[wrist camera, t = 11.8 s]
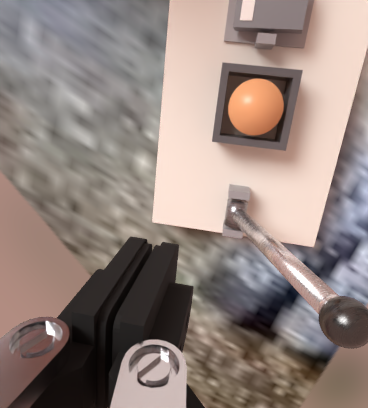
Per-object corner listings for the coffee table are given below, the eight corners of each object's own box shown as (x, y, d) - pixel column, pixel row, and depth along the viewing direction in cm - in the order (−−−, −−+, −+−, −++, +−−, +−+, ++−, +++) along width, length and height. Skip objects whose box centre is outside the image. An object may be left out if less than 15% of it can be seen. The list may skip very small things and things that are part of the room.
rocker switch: (313, -25, 19) (314, -32, 18) (301, 33, 20) (302, 29, 19) (242, -24, 20) (240, -31, 19) (235, 30, 21) (232, 26, 20)
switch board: (373, -34, 22) (418, -79, 16) (305, 233, 28) (322, 261, 23) (181, -46, 23) (168, -90, 18) (159, 211, 30) (144, 233, 24)
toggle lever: (245, 198, 25) (393, 316, 11) (241, 221, 25) (377, 358, 12) (222, 197, 24) (348, 319, 11) (218, 220, 25) (333, 362, 12)
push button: (283, 84, 21) (288, 81, 19) (273, 135, 22) (277, 138, 20) (232, 78, 21) (232, 75, 20) (224, 130, 23) (224, 131, 21)
